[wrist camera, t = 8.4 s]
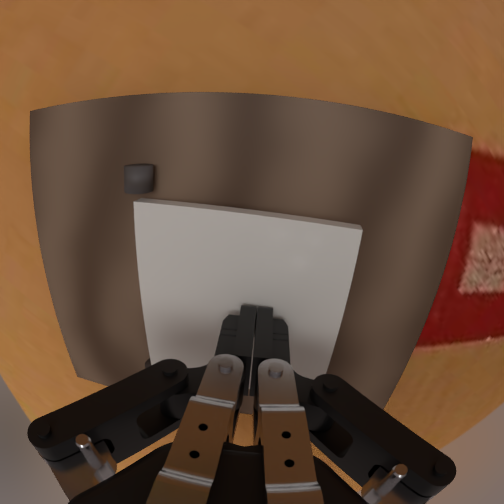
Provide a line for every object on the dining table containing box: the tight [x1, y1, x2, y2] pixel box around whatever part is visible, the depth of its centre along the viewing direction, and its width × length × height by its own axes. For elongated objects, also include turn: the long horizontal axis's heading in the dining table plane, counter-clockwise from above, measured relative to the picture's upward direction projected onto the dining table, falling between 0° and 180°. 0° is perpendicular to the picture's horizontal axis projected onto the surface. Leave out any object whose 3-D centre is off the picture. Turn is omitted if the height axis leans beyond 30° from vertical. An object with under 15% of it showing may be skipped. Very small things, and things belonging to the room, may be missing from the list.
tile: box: [134, 198, 363, 389], centre depth 15 cm, size 10×10×1 cm
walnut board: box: [30, 92, 473, 414], centre depth 16 cm, size 24×20×3 cm
